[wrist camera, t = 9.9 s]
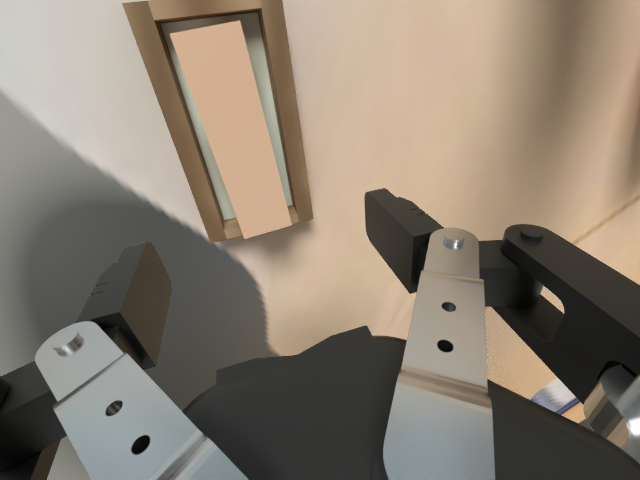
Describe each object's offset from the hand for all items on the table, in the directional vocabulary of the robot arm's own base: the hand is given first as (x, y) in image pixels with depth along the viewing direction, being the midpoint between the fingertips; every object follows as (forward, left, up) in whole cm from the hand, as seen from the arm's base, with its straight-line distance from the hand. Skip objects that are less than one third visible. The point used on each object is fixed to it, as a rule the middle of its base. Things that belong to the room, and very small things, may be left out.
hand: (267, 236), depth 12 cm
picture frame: (0, 0, -19) cm, 19 cm away
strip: (0, 0, -18) cm, 18 cm away
